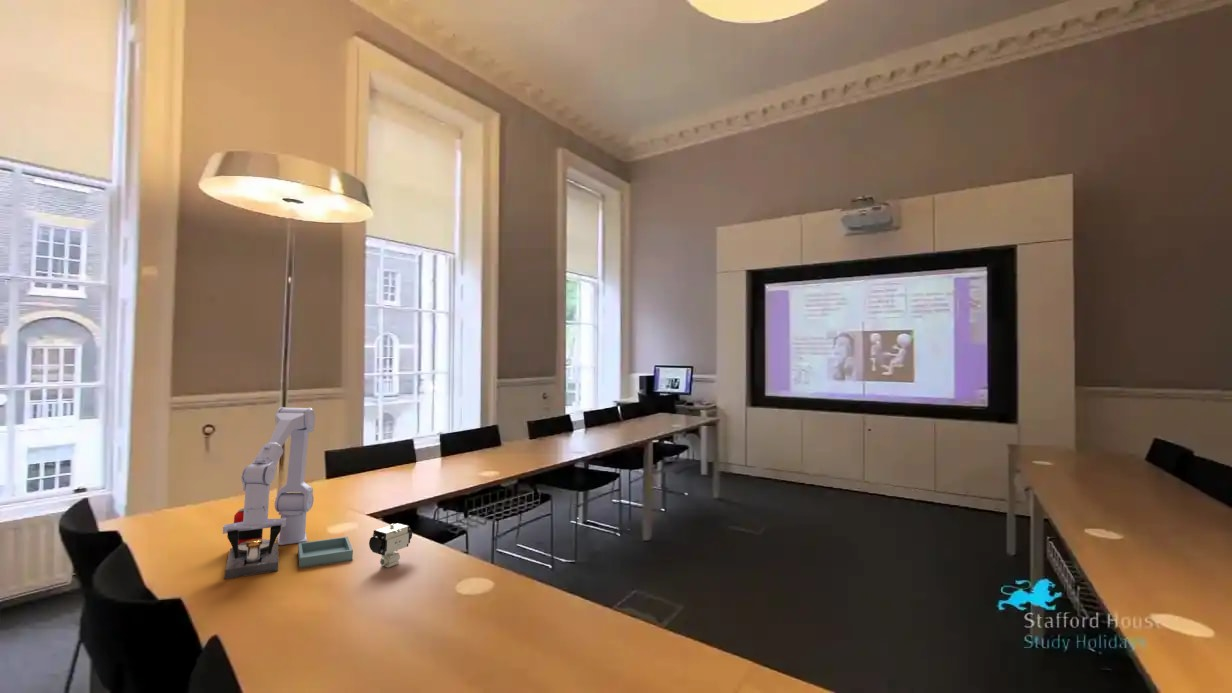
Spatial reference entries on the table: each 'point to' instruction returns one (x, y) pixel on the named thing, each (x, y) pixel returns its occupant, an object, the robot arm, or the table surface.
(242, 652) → the table surface
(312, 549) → the tray
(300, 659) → the table surface
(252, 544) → the lock pin
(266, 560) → the bracket
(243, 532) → the soda can
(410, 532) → the pneumatic valve
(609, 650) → the table surface
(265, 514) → the robot arm
